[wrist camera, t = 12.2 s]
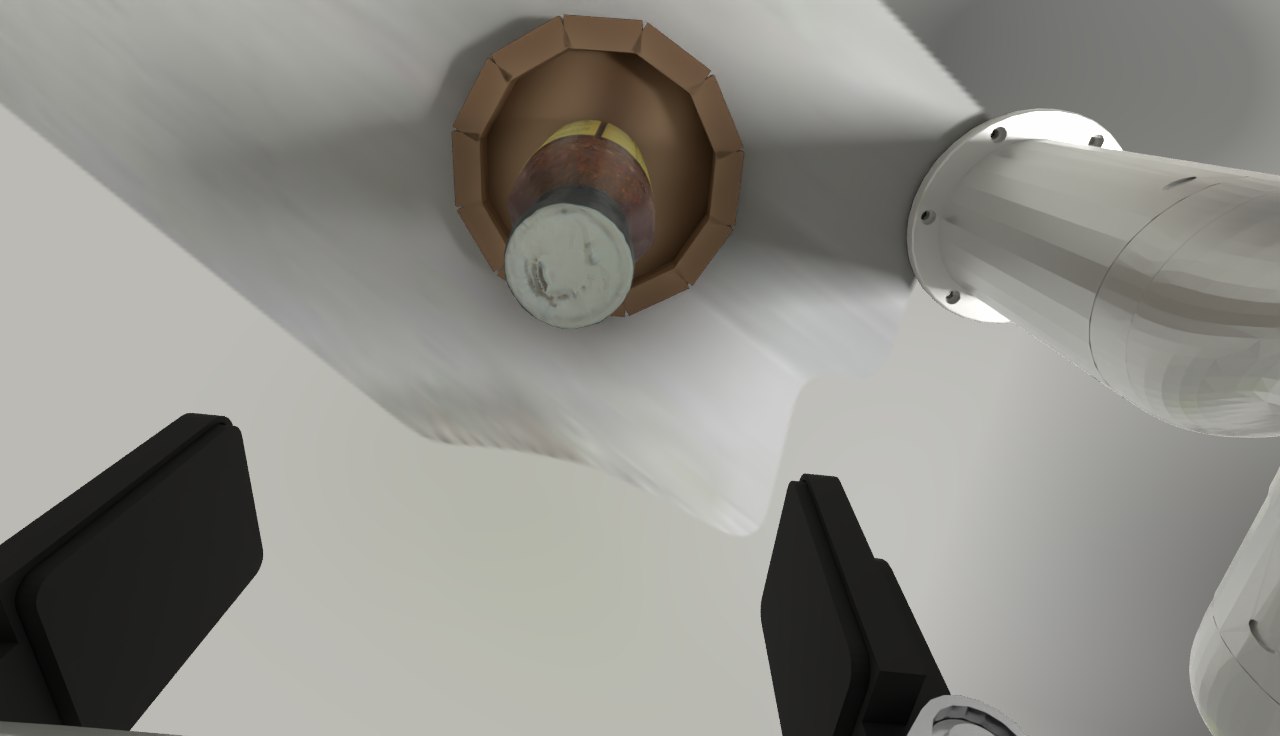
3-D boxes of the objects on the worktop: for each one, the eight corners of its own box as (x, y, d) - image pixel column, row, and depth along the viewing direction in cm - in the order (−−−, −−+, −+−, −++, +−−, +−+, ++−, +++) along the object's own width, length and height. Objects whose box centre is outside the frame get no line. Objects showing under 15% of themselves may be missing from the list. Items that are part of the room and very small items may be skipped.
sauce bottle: (530, 210, 38) (427, 331, 20) (554, 102, 36) (462, 130, 18) (635, 241, 39) (626, 384, 21) (666, 137, 37) (686, 198, 19)
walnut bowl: (752, 32, 35) (760, 29, 33) (718, 309, 42) (722, 323, 39) (459, 10, 35) (445, 5, 33) (471, 292, 41) (460, 305, 39)
